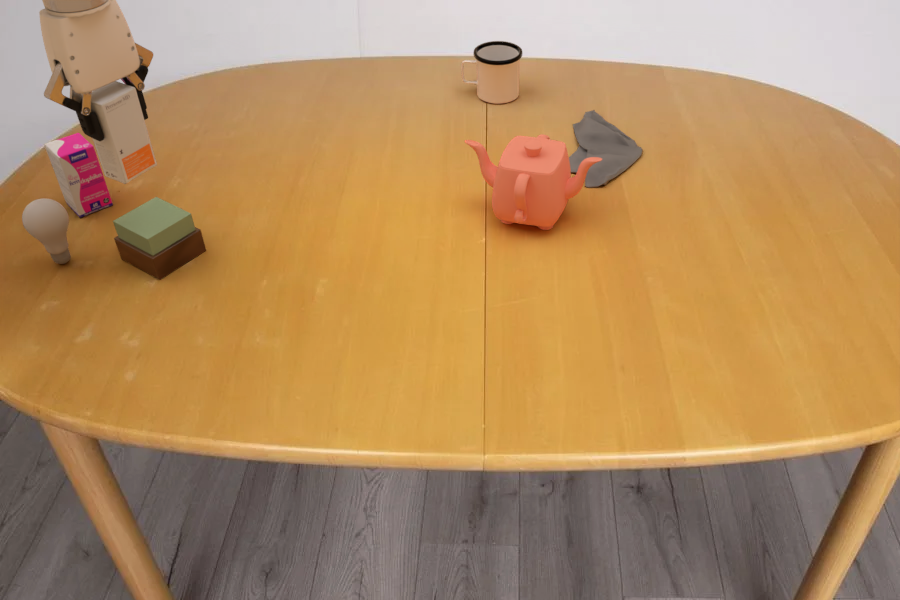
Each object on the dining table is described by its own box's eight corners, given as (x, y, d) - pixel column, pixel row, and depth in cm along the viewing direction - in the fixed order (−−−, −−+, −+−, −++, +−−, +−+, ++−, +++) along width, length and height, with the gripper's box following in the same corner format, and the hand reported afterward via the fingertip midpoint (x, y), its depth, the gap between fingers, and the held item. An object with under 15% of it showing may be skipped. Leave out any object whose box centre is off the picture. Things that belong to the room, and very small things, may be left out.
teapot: (597, 223, 141) (603, 154, 132) (505, 250, 135) (506, 180, 127) (552, 178, 151) (555, 111, 142) (465, 201, 145) (463, 133, 137)
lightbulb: (78, 245, 136) (54, 185, 129) (90, 265, 133) (66, 204, 125) (37, 259, 134) (10, 199, 126) (49, 280, 130) (21, 218, 123)
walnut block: (159, 280, 130) (152, 258, 127) (121, 259, 134) (113, 238, 131) (206, 250, 135) (200, 229, 133) (168, 231, 139) (161, 210, 137)
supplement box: (80, 219, 142) (56, 157, 134) (66, 204, 145) (41, 143, 137) (115, 205, 145) (93, 144, 137) (99, 191, 148) (78, 130, 140)
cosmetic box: (126, 185, 120) (100, 105, 112) (104, 177, 121) (76, 97, 113) (159, 165, 123) (136, 86, 115) (137, 157, 125) (113, 79, 117)
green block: (153, 255, 128) (147, 239, 126) (118, 237, 131) (112, 221, 129) (195, 229, 133) (191, 213, 131) (161, 212, 136) (156, 196, 134)
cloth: (634, 193, 147) (636, 181, 146) (554, 183, 150) (554, 172, 148) (648, 119, 166) (649, 108, 165) (576, 112, 168) (577, 101, 167)
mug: (525, 85, 176) (525, 42, 170) (518, 107, 170) (518, 63, 164) (466, 81, 178) (465, 38, 172) (457, 103, 171) (455, 59, 165)
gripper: (115, -34, 113) (152, 95, 125) (-10, 9, 102) (44, 145, 114) (153, -22, 109) (187, 109, 121) (28, 24, 99) (79, 163, 111)
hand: (117, 125), depth 118 cm, fingers closed on cosmetic box, 6 cm apart
